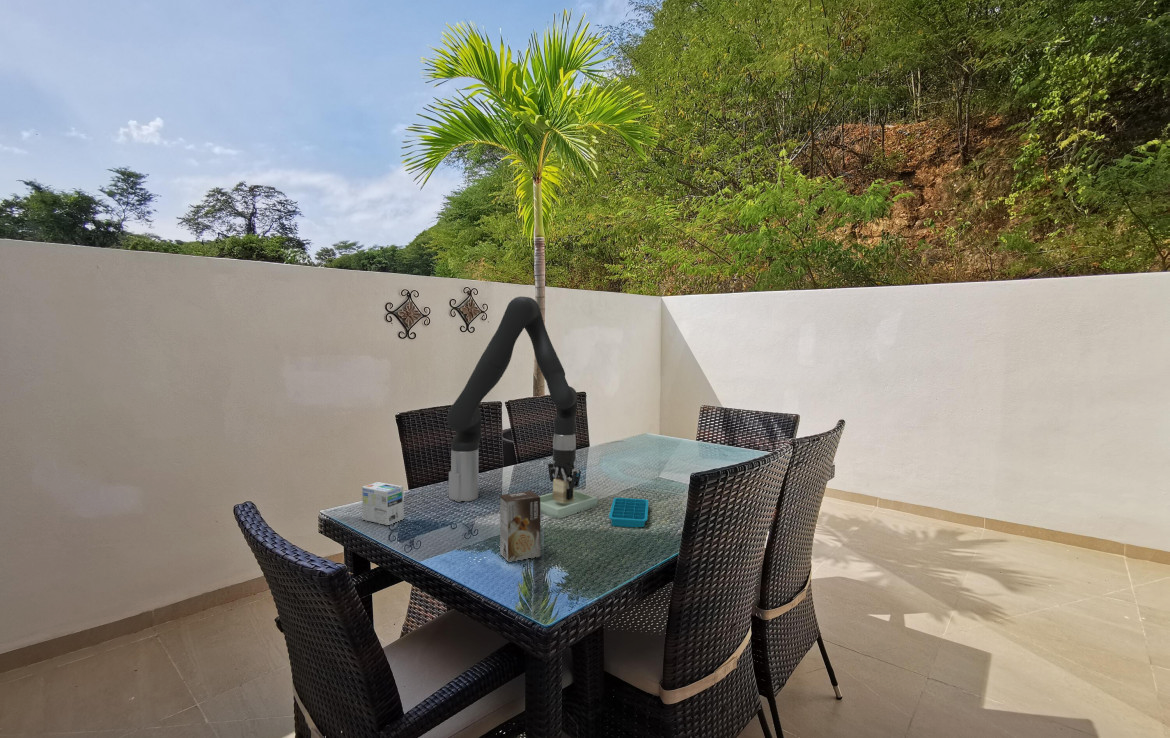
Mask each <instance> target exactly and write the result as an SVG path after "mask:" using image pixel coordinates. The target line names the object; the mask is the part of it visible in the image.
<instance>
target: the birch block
mask: <svg viewBox="0 0 1170 738" xmlns="http://www.w3.org/2000/svg"><path fill="white" fill-rule="evenodd" d="M567 479H570V477H568V478H567ZM569 484H571V481H569ZM566 489H567V486H566V482H564V478H559V479H553V482H552V493H553V500H555V501H557V502H560V503H567V502H570V501H573V500H574V490H575V488H573V498H572V499H570V500H567V499H566Z"/></svg>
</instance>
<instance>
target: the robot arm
mask: <svg viewBox="0 0 1170 738" xmlns="http://www.w3.org/2000/svg"><path fill="white" fill-rule="evenodd" d="M540 308H541V307H540V305H539V303H538V302H537V301H536V300H535V299H534V298H531V297H529V296H517V297H514V298H513V299H511V300H510V302H509V303H508V305H507V306H506V309H505V311H504V314H503V316H502V318H501V321H500V323H499V325H498V326H497V329H496V331H495V333H493V336H492V338H491V339H490V341H489V343H488V344H487V346H486V348H485V349H484V351H483V352H482V354H481V356H480V358H479V360H478V361H477V364H476V366H475V367H474V369H473V371H472V373H471V374H470V377H469V379H468V381H467V383H466V384H465V386H464V388H463V389H462V391H461V393H460V394H459V396H458V397H457V398H456V400H455V401H454V403H453V404H452V406H451V407H450V408H449V410H448V412H447V416H446V422H447V425H448V426H449V428H450V429H451V430H452V431H455V432H456V433H455V436H454V438H452V440H451V443H450V446H451V448H450V456H451V458H450V466H451V468H450V470H449V471H448V498H449V500H451V501H454V500H455V501H454V502H456V501H457V502H456V503H461V501H465V502H470V501H475V500H477V499H478V498H479V451H480V450H479V447H480V441H481V438H482V421H483V420H482V412H481V408H480V407H479V405H480V404H481V402H482V401H483V399H484V398H486V396H487V395H488V394H489V393H490V392H491V390H492V389H494V388H495V386H496V385H497V384H498V383H499V382H500V380H501V378H502V377H503V376H504V373H506V370H507V369H508V366H509V364H510V362H511V360H512V356H513V351H514V347H515V344H516V342H517V340H518V338H519V337H520V335H521V333H522V332H523V330H525V331H526V333H527V335H528V337H529V339H530V342H531V344H532V348H533V351H534V357H535V361H536V363H537V366H538V367H539V370H540V372H541V374H542V376H543V378H544V380H545V381H546V382H545V383H546V384H547V386H546V387H547V388H548V393H549V395H550V398H551V401H552V402H553V404H554V405H555V406H556V415H555V417H554V421H553V424H554V425H553V438H552V460H553V462H550V463H548V464H547V469H548V476H549V481H550V482H552V483H553V479H559V478H564V482H566V486H567V489H566V499H567V500H570V499H572V498H573V488H574V489H575V488H577V487H579V484H580V479H581V475H582V471H581V470H580V469H576V468H575V461H576V460H577V459H576V458H577V454H576V453H577V452H576V449H577V445H576V444H577V441H576V440H577V439H576V438H577V437H576V416H577V408H578V407H577V406H578V393H577V391H576V390H575V388H573V387H572V386H570V385H569V383H568V381H567V379H566V372H565V368H564V367H563V364H562V362H561V361H560V359H559V357H558V354H557V352H556V350H555V348H554V346H553V344H552V341H551V339H550V336H549V334H548V331H547V328H546V326H545V325H546V324H545V323H544V319H543V316H542V315H543V314H542V312H541V309H540ZM567 478H570V479H567ZM569 481H571V484H569Z"/></svg>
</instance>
